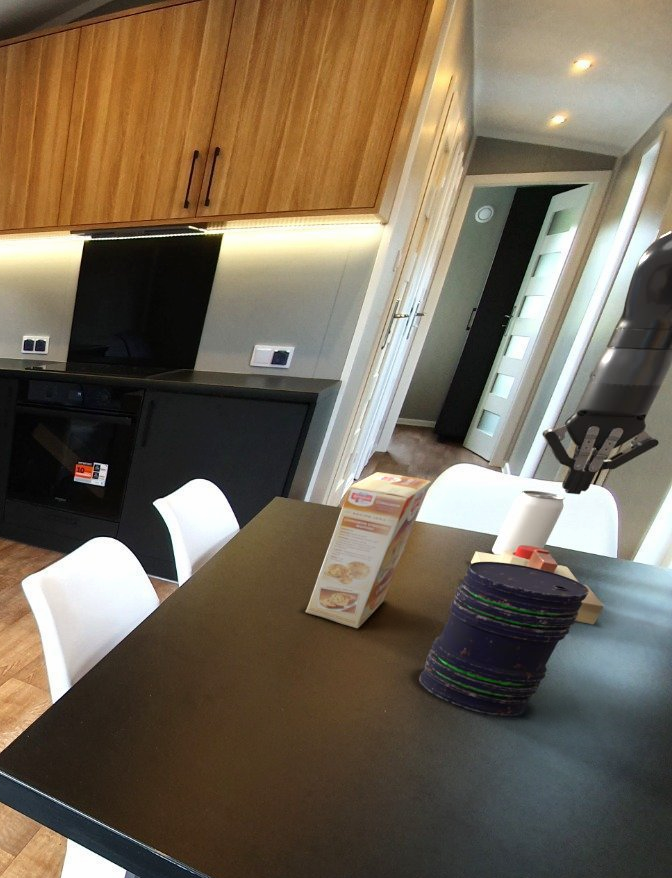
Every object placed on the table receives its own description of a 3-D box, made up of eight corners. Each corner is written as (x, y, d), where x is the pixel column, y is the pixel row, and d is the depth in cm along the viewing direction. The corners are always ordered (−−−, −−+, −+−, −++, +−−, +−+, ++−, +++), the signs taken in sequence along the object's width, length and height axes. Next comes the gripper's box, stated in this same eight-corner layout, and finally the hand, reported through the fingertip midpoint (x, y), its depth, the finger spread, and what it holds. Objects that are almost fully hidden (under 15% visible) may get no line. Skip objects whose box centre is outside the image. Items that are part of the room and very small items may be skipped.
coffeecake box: (358, 629, 90) (410, 496, 82) (302, 612, 95) (346, 485, 87) (385, 601, 99) (434, 479, 91) (333, 587, 104) (375, 470, 96)
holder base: (577, 600, 101) (586, 582, 100) (594, 626, 93) (605, 606, 91) (463, 579, 108) (470, 562, 107) (470, 601, 100) (478, 583, 99)
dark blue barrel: (399, 679, 78) (448, 567, 72) (446, 664, 82) (496, 556, 75) (497, 724, 70) (562, 602, 63) (544, 705, 73) (610, 588, 67)
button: (540, 557, 109) (545, 548, 108) (544, 563, 106) (549, 554, 105) (512, 553, 110) (516, 543, 110) (515, 559, 108) (520, 549, 107)
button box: (561, 578, 110) (572, 556, 108) (572, 595, 103) (584, 572, 101) (470, 562, 116) (479, 542, 114) (476, 577, 110) (486, 555, 108)
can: (488, 548, 124) (515, 488, 118) (533, 555, 120) (563, 493, 115) (493, 557, 119) (522, 495, 114) (540, 565, 115) (572, 501, 110)
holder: (544, 592, 96) (558, 563, 94) (529, 589, 97) (544, 560, 95) (535, 578, 101) (548, 550, 100) (521, 575, 102) (535, 548, 100)
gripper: (568, 379, 96) (520, 491, 103) (700, 385, 89) (638, 504, 96) (559, 376, 102) (513, 482, 109) (682, 381, 94) (624, 494, 102)
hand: (572, 492), depth 103 cm, fingers closed
